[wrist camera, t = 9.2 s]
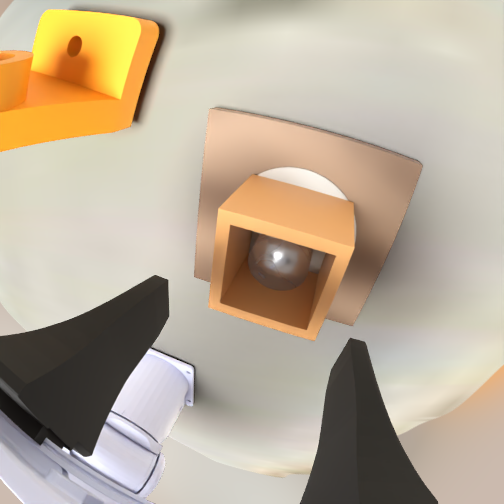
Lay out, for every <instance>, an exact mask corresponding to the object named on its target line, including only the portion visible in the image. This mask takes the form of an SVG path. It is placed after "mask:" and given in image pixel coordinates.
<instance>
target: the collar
mask: <svg viewBox="0 0 504 504" xmlns="http://www.w3.org/2000/svg"><path fill="white" fill-rule="evenodd" d="M252 231H254V232H258V233H261V234H265V235H268V236H272V237H275V238H278V239H282V240H285V241H289V242H292V243H295V244H299V245H302V246H305V247H309V248H312V249H315V250H319V251H322V252H325V256H324V259H323V262H322V265H321V268H320V271H319V273H318V274H316V273H313V272H310V271H308V275H307V277H306V279H305V281H304V282H303V283H302V284H301V285H300V286H298V287H296V288H294V289H291V290H287V291H278V290H273V289H270V288H267V287H265V286H264V285H262V284H260V283H259V282H258V281H257V280H256V279H255V278H254V277H253V275H252V274H251V272H250V270H249V266H248V256H249V248H250V242H251V237H252ZM354 248H355V241H354V202H351V201H347V200H344V199H341V198H338V197H334V196H331V195H328V194H324V193H321V192H317V191H314V190H310V189H307V188H303V187H300V186H296V185H293V184H289V183H285V182H281V181H278V180H274V179H270V178H266V177H262V176H258V175H254V174H252V175H251V176H250V177H249V178H248V179H247V180H246V181H245V182H244V183H243V184H242V185H241V186H240V187H239V188H238V189H237V190H236V191H235V192H234V193H233V194H232V195H231V196H230V197H229V198H228V199H227V200H226V201H225V202H224V203H223V204H222V205H221V206H220V207H219V208H218V217H217V226H216V235H215V244H214V253H213V263H212V273H211V284H210V294H209V305H208V307H209V308H212V309H215V310H218V311H220V312H223V313H226V314H229V315H232V316H235V317H238V318H241V319H244V320H247V321H250V322H253V323H256V324H260V325H263V326H266V327H269V328H272V329H275V330H279V331H282V332H285V333H288V334H292V335H295V336H298V337H302V338H305V339H309V340H312V341H315V339H316V337H317V335H318V332H319V330H320V328H321V326H322V324H323V322H324V319H325V317H326V315H327V313H328V310H329V308H330V306H331V304H332V301H333V299H334V297H335V294H336V292H337V290H338V287H339V285H340V283H341V280H342V278H343V276H344V273H345V271H346V268H347V266H348V263H349V261H350V258H351V256H352V253H353V251H354Z"/></svg>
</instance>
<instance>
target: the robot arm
mask: <svg viewBox="0 0 504 504" xmlns="http://www.w3.org/2000/svg"><path fill="white" fill-rule="evenodd" d="M168 317H169V295H168V280H167V279H164V278H162V277H159V276H156V275H154V276H152V277H150V278H149V279H147V280H145V281H143V282H142V283H140V284H138V285H136V286H135V287H133V288H131V289H129V290H128V291H126V292H124V293H122V294H121V295H119V296H117V297H115V298H113V299H112V300H110V301H108V302H106V303H104V304H102V305H100V306H98V307H96V308H94V309H92V310H90V311H88V312H86V313H84V314H81V315H79V316H77V317H74V318H72V319H69V320H67V321H64V322H61V323H58V324H55V325H51V326H48V327H45V328H42V329H38V330H34V331H29V332H25V333H20V334H13V335H7V336H0V479H1V480H2V481H3V482H4V483H5V484H6V485H7V487H8V488H9V489H10V490H11V491H12V492H13V493H14V494H15V495H16V496H17V497H18V498H19V499H20V501H22V503H24V504H154V503H152V502H150V501H148V500H146V497H147V496H148V495H149V494H150V493H151V492H152V491H153V490H154V488H155V487H156V485H157V484H158V482H159V481H160V479H161V477H162V474H163V472H164V469H165V465H166V461H165V458H164V454H163V453H161V452H160V451H161V449H162V447H163V446H162V445H160V443H162V442H163V441H164V440H166V438H167V437H168V435H169V434H170V432H171V430H172V428H173V426H174V424H175V422H176V420H177V418H178V416H179V414H180V413H181V411H182V409H183V407H184V405H185V404H186V405H189V406H193V404H194V368H193V367H192V366H191V365H188V364H186V363H183V362H181V361H179V360H176V359H174V358H171V357H169V356H167V355H164V354H162V353H160V352H157V351H155V350H153V349H151V348H150V347H151V346H152V344H153V343H154V342H155V340H156V339H157V337H158V336H159V334H160V332H161V330H162V329H163V327H164V325H165V323H166V321H167V319H168ZM300 504H438V501H437V500H436V499H435V497H434V496H433V495H432V493H431V492H430V491H429V489H428V488H427V487H426V485H425V484H424V483H423V481H422V480H421V478H420V477H419V475H418V473H417V472H416V470H415V469H414V467H413V465H412V463H411V462H410V460H409V458H408V456H407V455H406V453H405V451H404V449H403V447H402V445H401V443H400V441H399V439H398V437H397V435H396V432H395V430H394V428H393V426H392V423H391V421H390V418H389V416H388V413H387V410H386V408H385V405H384V402H383V399H382V396H381V393H380V390H379V387H378V384H377V381H376V378H375V374H374V371H373V367H372V364H371V360H370V357H369V353H368V349H367V346H366V343H365V342H364V341H360V340H356V339H352V338H350V339H349V340H348V342H347V344H346V346H345V347H344V349H343V351H342V352H341V354H340V356H339V357H338V359H337V361H336V362H335V364H334V366H333V367H332V369H331V373H330V377H329V381H328V385H327V390H326V395H325V403H324V411H323V418H322V425H321V432H320V439H319V445H318V450H317V454H316V457H315V461H314V464H313V467H312V471H311V474H310V477H309V480H308V483H307V486H306V489H305V492H304V494H303V497H302V500H301V502H300Z"/></svg>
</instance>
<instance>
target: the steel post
mask: <svg viewBox="0 0 504 504" xmlns="http://www.w3.org/2000/svg"><path fill="white" fill-rule="evenodd" d="M312 254H313V249H312V248H309V247H305V246H302V245H299V244H295V243H292V242H289V241H285V240H282V239H278V238H275V237H272V236H268V235H265V234H261V233H260V235H259V237H258V238H257V240H256V242H255V244H254V245H253V247H252V249H251V251H250V253H249V256H248V266H249V270H250V272H251V274H252V275H253V277H254V278H255V279H256V280H257V281H258V282H259V283H260V284H262V285H264V286H265V287H267V288H270V289H273V290H278V291H287V290H291V289H294V288H296V287H298V286H300V285H301V284H302V283H303V282H304V281H305V279H306V277H307V275H308V271H309V266H310V262H311V258H312Z"/></svg>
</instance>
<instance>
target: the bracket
mask: <svg viewBox="0 0 504 504" xmlns="http://www.w3.org/2000/svg"><path fill="white" fill-rule="evenodd" d="M158 37H159V28H158V25H157V24H156V23H155V22H153V21H151V20H145V19H140V18H135V17H129V16H122V15H115V14H108V13H99V12H89V11H75V10H47V11H46V12H45V13H44V14H43V15H42V17H41V19H40V22H39V25H38V29H37V33H36V37H35V41H34V45H33V50H32V53H31V52H27V51H16V50H10V51H0V152H2V151H6V150H10V149H14V148H19V147H23V146H28V145H33V144H38V143H43V142H49V141H54V140H60V139H67V138H73V137H80V136H87V135H95V134H103V133H112V132H116V131H119V130H122V129H125V128H128V127H131V124H132V120H133V116H134V112H135V108H136V105H137V101H138V98H139V94H140V91H141V87H142V84H143V81H144V78H145V74H146V71H147V68H148V65H149V62H150V59H151V56H152V53H153V51H154V48H155V45H156V42H157V40H158Z"/></svg>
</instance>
